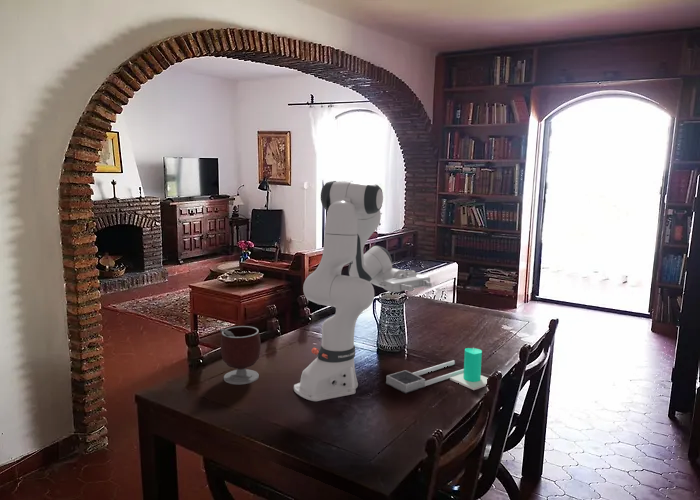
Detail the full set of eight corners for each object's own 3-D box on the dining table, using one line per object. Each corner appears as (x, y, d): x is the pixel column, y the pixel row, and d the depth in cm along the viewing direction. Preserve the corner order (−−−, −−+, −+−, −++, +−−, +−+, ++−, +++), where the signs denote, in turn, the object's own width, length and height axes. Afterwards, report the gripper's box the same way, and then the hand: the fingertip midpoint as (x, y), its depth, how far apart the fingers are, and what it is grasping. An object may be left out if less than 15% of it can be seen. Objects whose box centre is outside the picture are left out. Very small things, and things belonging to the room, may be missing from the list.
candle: (460, 379, 193) (462, 346, 191) (467, 373, 198) (469, 342, 196) (476, 383, 190) (478, 350, 188) (483, 377, 195) (484, 345, 193)
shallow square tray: (405, 393, 183) (405, 385, 182) (386, 383, 191) (386, 375, 190) (424, 387, 188) (425, 379, 188) (405, 377, 196) (405, 370, 195)
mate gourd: (244, 367, 204) (242, 315, 201) (269, 376, 196) (268, 323, 192) (209, 379, 193) (207, 325, 189) (234, 390, 184) (233, 333, 181)
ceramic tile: (473, 390, 186) (474, 388, 186) (449, 379, 195) (450, 377, 195) (494, 382, 193) (494, 380, 192) (470, 372, 201) (470, 370, 201)
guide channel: (424, 386, 189) (424, 382, 189) (407, 378, 196) (407, 374, 195) (470, 371, 203) (471, 367, 203) (453, 363, 210) (453, 360, 210)
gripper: (377, 275, 210) (401, 282, 199) (415, 269, 222) (440, 275, 211) (376, 291, 211) (400, 299, 200) (415, 284, 223) (439, 291, 212)
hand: (421, 287), depth 206 cm, fingers open, 8 cm apart
